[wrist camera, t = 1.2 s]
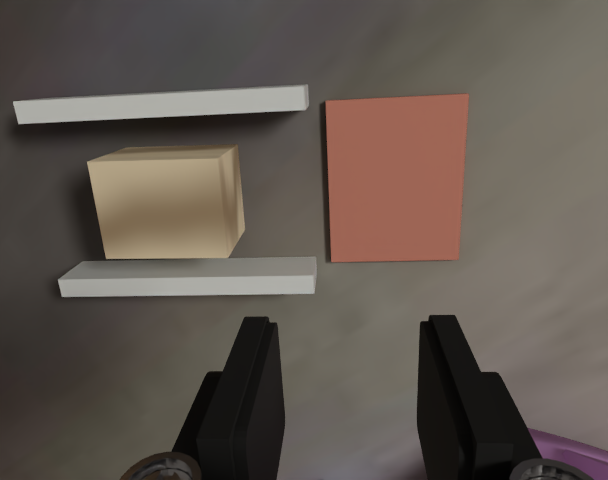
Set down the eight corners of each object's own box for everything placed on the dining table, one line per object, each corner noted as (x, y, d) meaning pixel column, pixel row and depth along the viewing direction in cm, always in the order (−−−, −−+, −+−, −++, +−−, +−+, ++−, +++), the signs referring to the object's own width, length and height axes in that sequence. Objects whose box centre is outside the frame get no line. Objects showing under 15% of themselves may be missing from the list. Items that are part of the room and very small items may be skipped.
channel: (45, 98, 29) (13, 101, 26) (307, 84, 27) (303, 86, 24) (86, 277, 33) (62, 296, 30) (316, 273, 31) (314, 293, 28)
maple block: (127, 147, 29) (87, 161, 25) (238, 143, 29) (217, 158, 24) (141, 230, 31) (106, 258, 27) (245, 229, 31) (227, 257, 26)
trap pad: (325, 100, 27) (325, 100, 27) (467, 93, 27) (469, 93, 26) (331, 259, 31) (331, 262, 30) (457, 257, 30) (458, 259, 30)
